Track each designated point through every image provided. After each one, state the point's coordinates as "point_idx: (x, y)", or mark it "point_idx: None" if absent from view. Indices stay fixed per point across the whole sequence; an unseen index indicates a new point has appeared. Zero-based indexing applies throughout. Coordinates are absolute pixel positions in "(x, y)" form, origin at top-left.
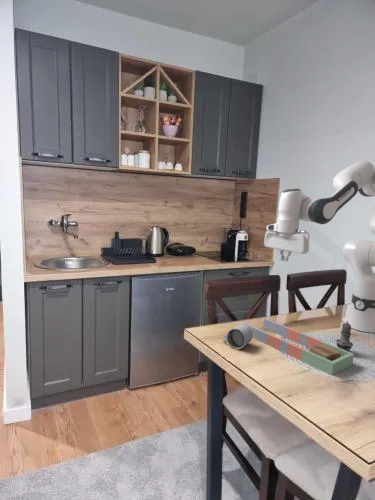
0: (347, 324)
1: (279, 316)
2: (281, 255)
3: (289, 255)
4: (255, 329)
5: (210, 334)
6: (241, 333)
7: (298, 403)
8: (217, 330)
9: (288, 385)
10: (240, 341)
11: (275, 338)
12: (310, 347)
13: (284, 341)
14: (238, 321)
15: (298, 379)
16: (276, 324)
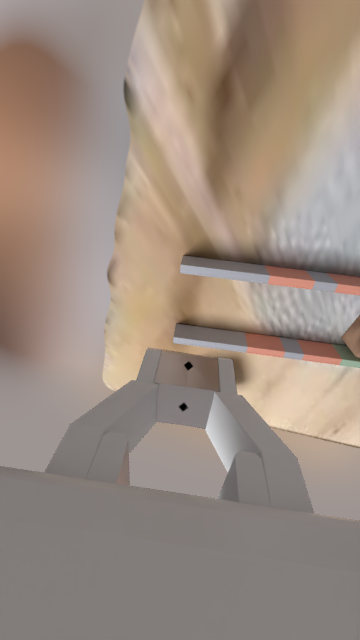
0: None
1: (148, 96)
2: (147, 427)
3: (261, 432)
4: (208, 346)
5: None
6: None
7: (351, 436)
8: (134, 355)
9: (329, 417)
10: None
11: (267, 354)
12: (357, 356)
13: (291, 357)
14: (115, 279)
15: (338, 398)
16: (226, 277)
